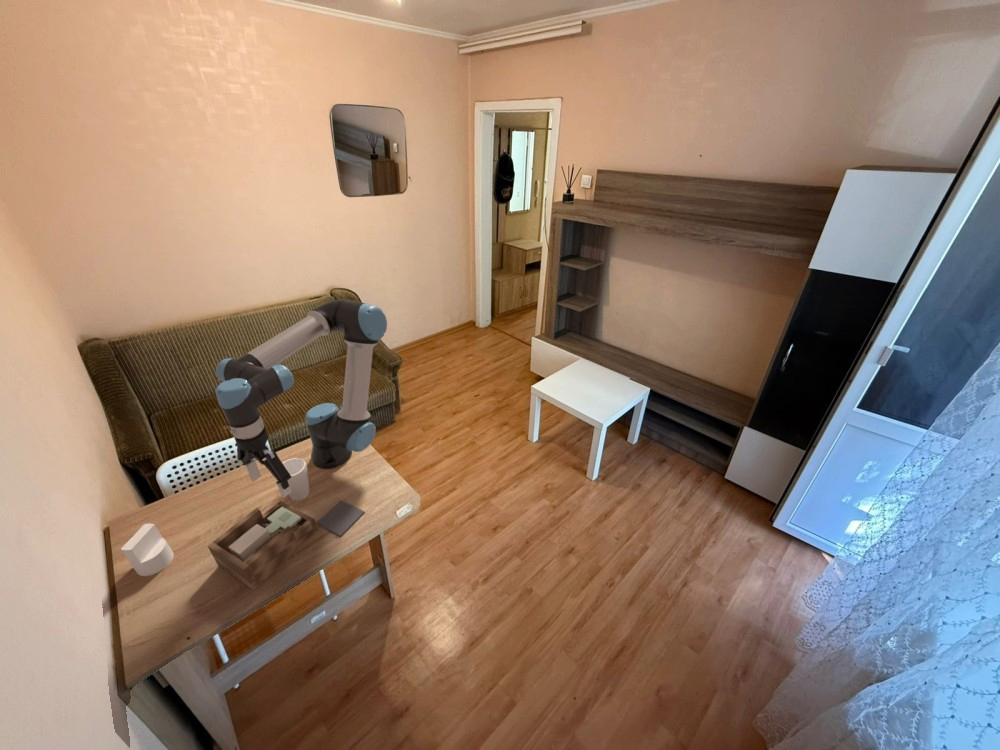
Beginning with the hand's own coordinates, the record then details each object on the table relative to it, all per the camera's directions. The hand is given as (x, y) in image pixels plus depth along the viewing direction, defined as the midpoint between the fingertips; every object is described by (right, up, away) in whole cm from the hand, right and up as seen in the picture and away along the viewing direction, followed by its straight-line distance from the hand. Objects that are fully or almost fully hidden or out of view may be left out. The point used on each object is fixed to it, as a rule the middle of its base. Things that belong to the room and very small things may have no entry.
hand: (271, 486), depth 122 cm
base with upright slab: (-35, -23, 0) cm, 42 cm away
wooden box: (-3, -21, +5) cm, 22 cm away
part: (-5, -17, -1) cm, 18 cm away
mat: (+15, -15, +15) cm, 26 cm away
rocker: (-3, -16, +3) cm, 16 cm away
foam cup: (-3, -9, +24) cm, 26 cm away
